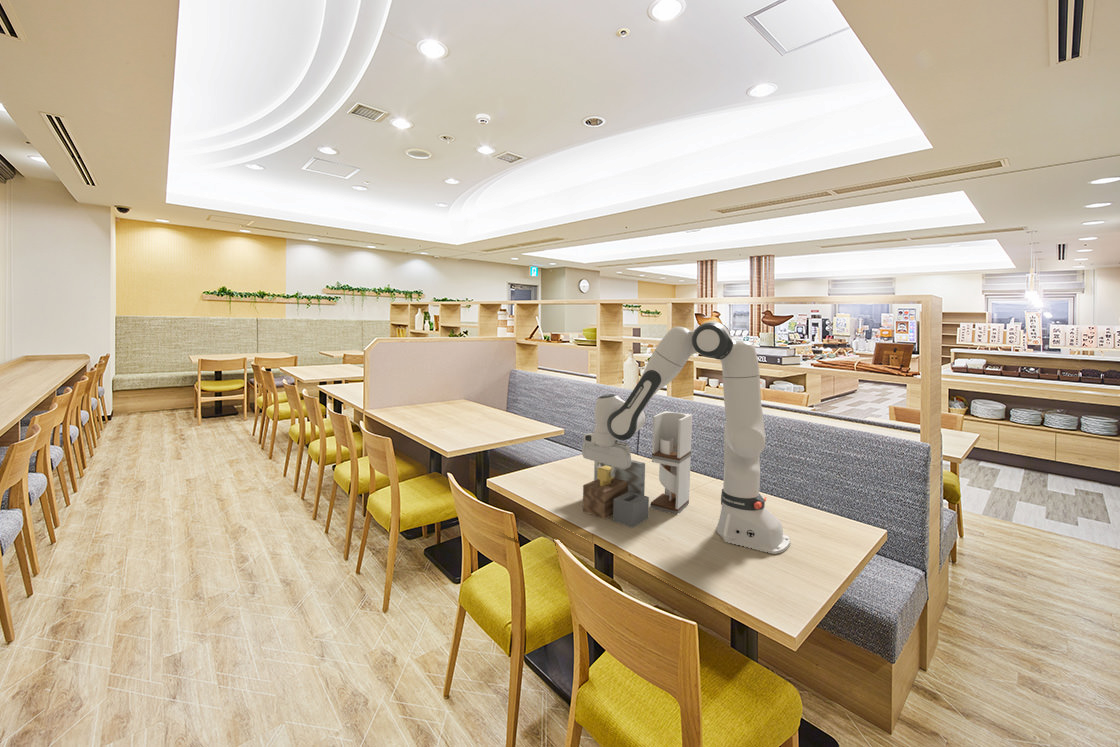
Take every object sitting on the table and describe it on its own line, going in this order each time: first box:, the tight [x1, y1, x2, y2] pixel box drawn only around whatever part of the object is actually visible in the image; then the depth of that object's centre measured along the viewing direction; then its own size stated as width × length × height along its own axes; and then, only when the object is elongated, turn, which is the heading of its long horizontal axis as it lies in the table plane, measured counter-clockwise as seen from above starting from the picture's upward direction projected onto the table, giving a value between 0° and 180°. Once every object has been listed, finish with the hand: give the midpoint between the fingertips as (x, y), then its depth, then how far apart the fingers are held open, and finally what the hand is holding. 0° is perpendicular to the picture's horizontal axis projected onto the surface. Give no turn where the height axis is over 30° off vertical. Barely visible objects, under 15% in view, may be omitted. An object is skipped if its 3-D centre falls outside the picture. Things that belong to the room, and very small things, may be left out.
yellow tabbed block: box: [597, 465, 614, 486], centre depth 174 cm, size 4×5×8 cm
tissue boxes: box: [582, 459, 646, 520], centre depth 176 cm, size 22×16×18 cm
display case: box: [649, 410, 693, 515], centre depth 177 cm, size 11×11×35 cm
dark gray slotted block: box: [612, 491, 650, 529], centre depth 167 cm, size 8×10×8 cm
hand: (605, 474), depth 174 cm, fingers closed on yellow tabbed block, 4 cm apart
